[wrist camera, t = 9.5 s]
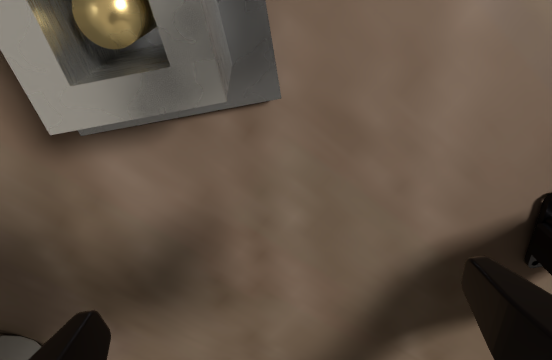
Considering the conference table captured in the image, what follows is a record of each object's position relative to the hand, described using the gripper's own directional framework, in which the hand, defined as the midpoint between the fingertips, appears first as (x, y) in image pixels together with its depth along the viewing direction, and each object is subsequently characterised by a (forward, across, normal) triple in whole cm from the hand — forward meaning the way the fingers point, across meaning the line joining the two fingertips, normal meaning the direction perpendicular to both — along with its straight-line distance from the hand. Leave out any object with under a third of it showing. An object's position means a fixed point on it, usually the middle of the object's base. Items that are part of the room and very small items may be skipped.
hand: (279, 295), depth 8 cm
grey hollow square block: (+10, +4, -6) cm, 13 cm away
